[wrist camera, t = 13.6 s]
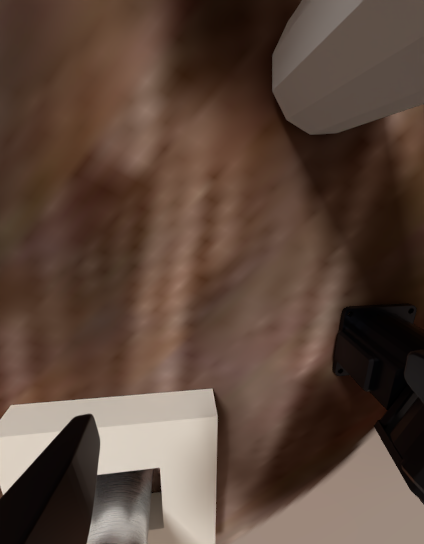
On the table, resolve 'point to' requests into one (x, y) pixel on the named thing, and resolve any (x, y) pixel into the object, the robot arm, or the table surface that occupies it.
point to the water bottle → (349, 63)
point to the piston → (121, 508)
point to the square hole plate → (135, 451)
